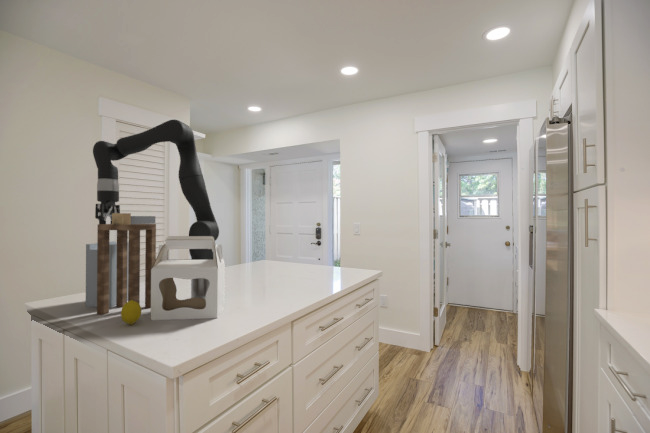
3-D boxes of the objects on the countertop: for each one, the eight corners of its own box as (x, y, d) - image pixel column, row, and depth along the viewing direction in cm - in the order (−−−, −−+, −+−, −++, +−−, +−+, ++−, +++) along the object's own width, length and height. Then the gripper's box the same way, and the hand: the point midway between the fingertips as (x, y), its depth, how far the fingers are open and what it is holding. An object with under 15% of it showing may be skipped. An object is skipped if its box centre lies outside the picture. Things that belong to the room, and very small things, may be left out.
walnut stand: (155, 305, 122) (155, 223, 122) (134, 315, 110) (135, 224, 110) (120, 305, 123) (121, 223, 123) (96, 314, 111) (97, 224, 111)
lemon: (144, 322, 103) (145, 298, 103) (133, 328, 98) (133, 302, 98) (129, 321, 104) (129, 297, 104) (116, 327, 98) (116, 302, 98)
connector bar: (156, 223, 131) (156, 213, 131) (122, 224, 111) (123, 213, 111) (147, 223, 131) (147, 213, 131) (112, 224, 111) (112, 213, 111)
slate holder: (134, 297, 134) (135, 241, 134) (110, 307, 120) (110, 244, 120) (112, 297, 135) (112, 241, 135) (85, 306, 121) (86, 244, 121)
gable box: (149, 320, 105) (150, 237, 105) (164, 309, 118) (165, 235, 118) (218, 318, 108) (218, 237, 108) (225, 307, 121) (225, 235, 121)
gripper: (108, 188, 124) (108, 229, 124) (126, 191, 138) (126, 228, 138) (87, 188, 123) (88, 230, 123) (107, 191, 137) (107, 228, 137)
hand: (108, 229), depth 130 cm, fingers open, 8 cm apart
